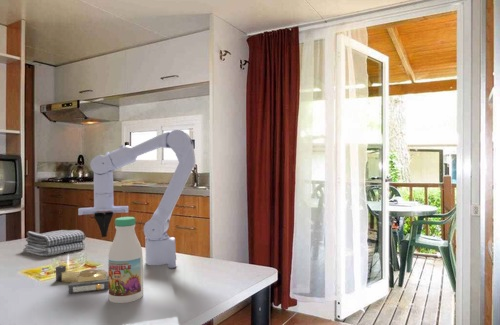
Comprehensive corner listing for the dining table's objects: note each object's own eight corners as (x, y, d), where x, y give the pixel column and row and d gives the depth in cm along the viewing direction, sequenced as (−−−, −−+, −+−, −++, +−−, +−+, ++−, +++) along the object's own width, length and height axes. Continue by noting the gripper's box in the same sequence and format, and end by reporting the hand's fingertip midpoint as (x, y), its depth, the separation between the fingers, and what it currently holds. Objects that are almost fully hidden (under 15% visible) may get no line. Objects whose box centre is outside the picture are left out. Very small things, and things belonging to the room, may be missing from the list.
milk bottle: (114, 296, 85) (113, 215, 85) (146, 295, 86) (145, 215, 86) (104, 309, 78) (102, 221, 77) (139, 308, 78) (137, 220, 78)
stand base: (130, 274, 102) (130, 263, 102) (127, 294, 87) (127, 280, 87) (70, 280, 97) (70, 268, 97) (56, 302, 82) (56, 288, 82)
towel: (47, 258, 122) (47, 236, 122) (21, 252, 131) (21, 231, 131) (87, 249, 134) (87, 229, 134) (61, 243, 144) (61, 225, 144)
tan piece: (112, 280, 93) (112, 267, 93) (93, 289, 86) (93, 275, 86) (67, 275, 97) (67, 262, 97) (46, 284, 91) (46, 270, 91)
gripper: (76, 195, 103) (76, 240, 103) (127, 193, 107) (128, 237, 107) (80, 193, 110) (80, 236, 110) (128, 191, 114) (129, 232, 114)
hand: (104, 236), depth 109 cm, fingers closed
